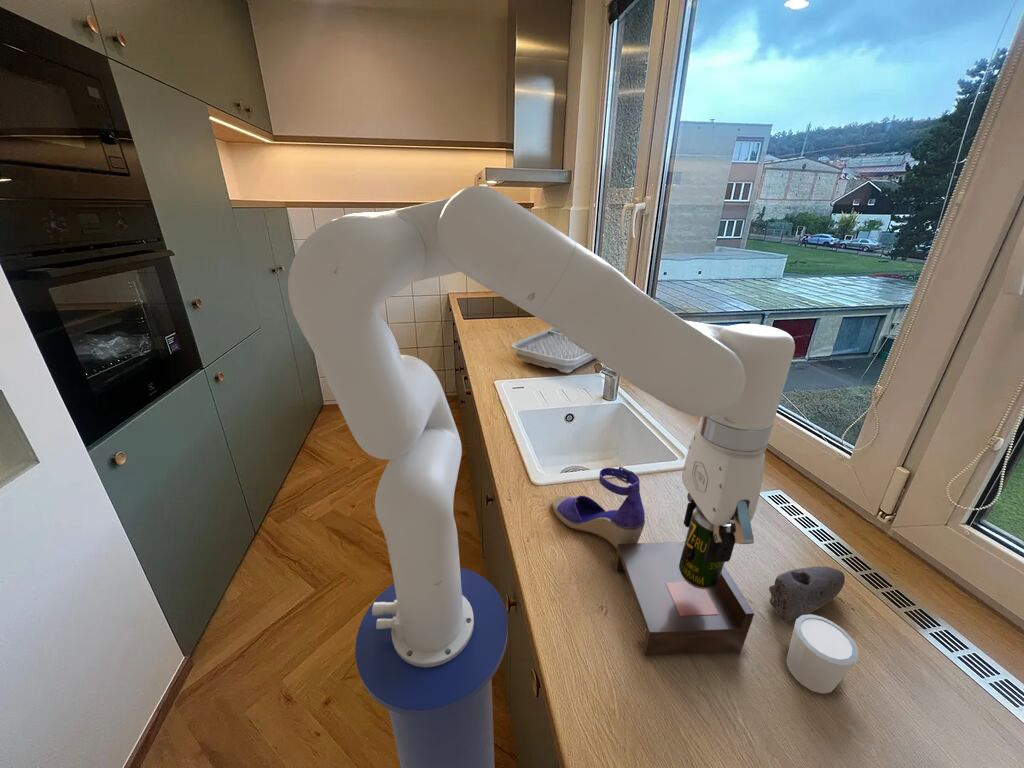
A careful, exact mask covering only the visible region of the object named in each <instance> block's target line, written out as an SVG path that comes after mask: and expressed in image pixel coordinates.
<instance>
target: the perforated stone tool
mask: <svg viewBox="0 0 1024 768" xmlns="http://www.w3.org/2000/svg"><path fill="white" fill-rule="evenodd" d="M845 580H846V577H845V573H844V572H843V571H842V570H840V569H839V568H835V567H831V566H810V567H801V568H796V569H791V570H788V571H786V572H782V573H780V574H778V575H777V576H776V578H775V580H774V584H772V585H771V586H769V587H768V591H769V593H770V598H769V603H770V605H771V606H772V608H773V609H774V611H775V612H776V614H777V616H778V618H779V619H780V620H782V621H783V622H790V621H794V620H796V619H797V618H799V617H800V616H801V615H808V614H812V613H814V612H815V611H817V610H819V609H821V608H822V607H824V606H825V605H826V604H828V603H830V602H831V601H833V599H835V597H837V596H838V595H839V593H840V592H841V591H842V589H843V587H844V584H845Z"/></svg>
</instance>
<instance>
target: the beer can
mask: <svg viewBox="0 0 1024 768" xmlns="http://www.w3.org/2000/svg"><path fill="white" fill-rule="evenodd" d="M713 529H714V525H713V524H712V523H710V522H709V521H708V520H707V518H706V517H705V516H704V514H703V513H702V511H701V510H700V509H699V507H698V506H696V507H695V509H694V510H693V513H692V517H691V521H690V525H689V527H688V529H687V533H686V537H685V541H684V542H685V544H684V547H683V551H682V555H681V559H680V563H679V569H680V572H681V575H682V577H683V578H684V580H685V581H686V582H688V583H689V584H690V585H692V586H693V587H696V588H699V589H710V588H712V587H713V586H715V585H716V584H717V583H718V581H719V578H720V575H721V572H722V569H723V566H725V563H726V562H706V560H705V559H704V556H705V552H706V548H707V544H708V540H709V536H713ZM730 530H731V524H725V525H724V526H723V532H730Z"/></svg>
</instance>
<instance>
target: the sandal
mask: <svg viewBox="0 0 1024 768" xmlns="http://www.w3.org/2000/svg"><path fill="white" fill-rule="evenodd" d="M607 476H608V477H609V476H610V477H615V478H616V479H617V480H619V481H621V482H624V483H625V484H629V485H628V486H620V485H617V484H614V483H613V482H611V481H608V480H607V479H606V478H605V477H607ZM598 481H599V484H600V485H601V486H602V487H603V488H604V489H606V490H608V491H610V492H611V493H614V494H615V495H618V496H626V498H624V500H623V502H622V504H620V506H619V508H618V509H610V510H605V509H604V508H603V507H602V506H601V505H600V504H599V503H598V502H597V501H595V500H593V498H591V497H589V496H587V495H578V496H576V497H575V496H574V497H573V496H566V495H563V496H558V497H555V498H554V499H553V501H552V511H553V513H554V515H555V516H556V517H557V518H558V520H559V521H560V522H561V523H562V524H564V525H565V526H566V527H568V528H570V529H572V530H576V531H579V532H585V533H589V534H593V535H595V536H598V537H600V538H602V539H604V540H605V541H606V542H608V543H609V544H611V546H613V547H612V548H613V549H614V550H616V551H617V546H618V544H631V543H639V541H640V537H641V535H642V532H643V530H644V527H645V525H646V520H645V518H646V517H645V514H646V513H645V508H644V504H643V501H642V497H641V492H640V489H641V487H640V478H639V476H638V475H637V474H635V472H634V471H632V470H629V469H627V468H625V467H623V466H619V467H618V468H615V467H605V468H602V469H601V470H600V471H599V480H598Z"/></svg>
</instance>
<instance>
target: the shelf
mask: <svg viewBox="0 0 1024 768" xmlns="http://www.w3.org/2000/svg"><path fill="white" fill-rule="evenodd" d="M684 544H685V541H667V542H665V541H662V542H661V541H660V542H638V543H631V544H618V546H617V550H616V555H615V561H614V567H615V569H616V571H624V573H625V575H626V578H627V581H628V584H629V587H630V589H631V592H632V595H633V598H634V600H635V604H636V607H637V610H638V612H639V615H640V618H641V621H642V623H643V626H644V629H645V633H644V638H643V642H642V651H643V654H644V656H645V657H649V656H650V657H651V656H669V655H670V656H672V655H694V654H696V655H697V654H698V655H699V654H717V653H718V654H719V653H740V652H742V650H743V648H744V645H745V642H746V640H747V636H748V633H749V630H750V628H751V625H752V622H753V619H754V616H755V612H754V611H753V609H752V608H751V606H750V604H749V603H748V601H747V600H746V598H745V596H744V595H743V593H742V592H741V590H740V589H739V587H738V584H736V582H735V580H734V578H732V576H731V574H730V573H729V571H728V570H727V568H726V566H725V565H724V566H723V569H722V572H721V575H720V578H719V581H718V583H717V584H716V585H715V586H713V587H712V588H710V589H699V588H696V587H693V586H692V585H690V584H689V583H688V582H686V581H685V580H684V578H683V577H682V575H681V572H680V569H679V563H680V559H681V555H682V551H683V547H684Z"/></svg>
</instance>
